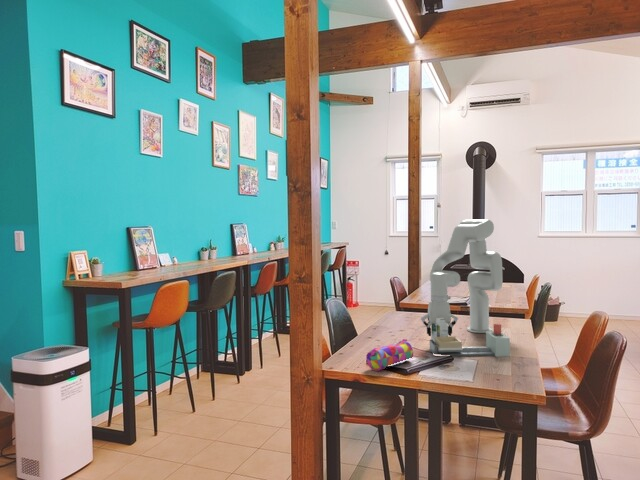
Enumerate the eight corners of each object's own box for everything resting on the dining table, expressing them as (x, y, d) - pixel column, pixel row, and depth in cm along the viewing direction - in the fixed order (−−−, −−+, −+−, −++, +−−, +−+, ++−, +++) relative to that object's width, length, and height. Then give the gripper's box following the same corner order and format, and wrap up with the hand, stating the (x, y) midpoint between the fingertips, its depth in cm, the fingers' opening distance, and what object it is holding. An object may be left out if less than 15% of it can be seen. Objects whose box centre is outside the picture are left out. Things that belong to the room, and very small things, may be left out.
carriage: (433, 347, 207) (433, 336, 207) (456, 347, 207) (456, 336, 207) (438, 353, 198) (438, 342, 198) (462, 353, 197) (462, 341, 197)
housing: (486, 348, 208) (486, 331, 208) (499, 348, 208) (499, 331, 208) (495, 356, 196) (495, 338, 196) (509, 356, 196) (509, 337, 196)
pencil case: (397, 357, 199) (397, 337, 198) (415, 362, 192) (415, 340, 191) (364, 369, 184) (364, 347, 183) (382, 374, 177) (382, 351, 177)
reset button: (492, 339, 203) (492, 323, 203) (499, 339, 203) (499, 323, 203) (495, 341, 200) (495, 325, 200) (502, 341, 200) (502, 325, 200)
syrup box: (430, 345, 215) (430, 315, 215) (441, 344, 217) (440, 314, 217) (438, 348, 210) (437, 317, 209) (448, 347, 212) (448, 316, 211)
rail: (429, 350, 208) (429, 339, 207) (486, 349, 207) (486, 338, 207) (434, 356, 198) (434, 345, 197) (494, 355, 197) (494, 344, 197)
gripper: (455, 297, 216) (455, 333, 217) (418, 297, 217) (419, 333, 217) (459, 299, 209) (460, 337, 209) (422, 300, 209) (422, 337, 210)
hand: (439, 335), depth 213 cm, fingers open, 9 cm apart
